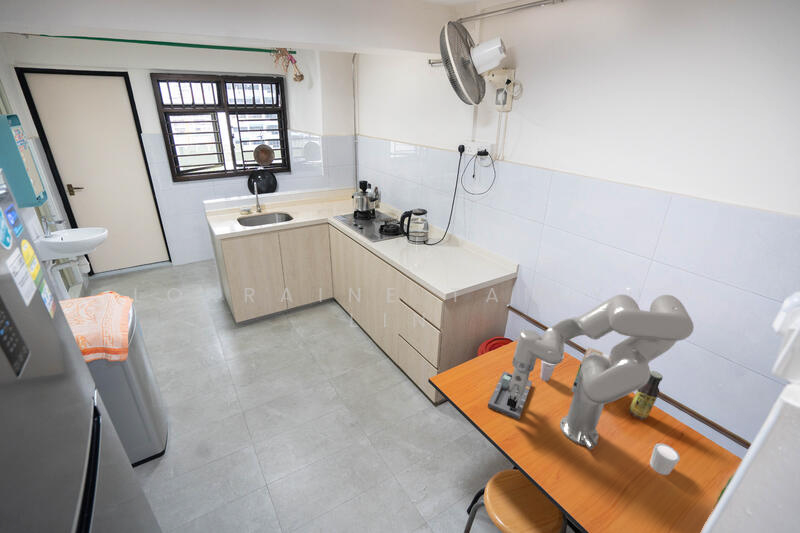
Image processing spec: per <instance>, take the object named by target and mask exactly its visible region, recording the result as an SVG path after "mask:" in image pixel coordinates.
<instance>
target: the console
mask: <svg viewBox="0 0 800 533" xmlns="http://www.w3.org/2000/svg"><path fill="white" fill-rule="evenodd" d="M504 375H507V376H509V377H511V378H510V383H509V386H508V388H506V390H504V389H502V388H503V386H501V385H502V380H503V377H504ZM512 375H513V373H510V372H508V371H503V372H502V373H501V376H500V378H499V380H498V382H497V384H496V386H495V389H494V391H493V393H492V395H491V397H490V399H489V400H488V403H487V408H489V407H490V408H489V409H491V408H492V409H491V410H494V411H496V410H497V411H496V412H498V411H499V413H501V414H503V415H505V414H506V416H508V417H510V418H513V419H516V420H517V419H518V420H517V421H520V418H521V415H522V414H523V410H524V407H525V404H526V402H527V398H528V396H529V393H530V390H531V388H532V387H531V386H532V383H533V381H531V380H529V379H528V382H527V385H526V388H525V391H524V393H523V395H521V397H520V401H519V405H518V408H516V409H515V410H513V409H511V408H512V407H510V406H507V401H508V397H509V396H510V393H511V391H510V384H511V380H512Z"/></svg>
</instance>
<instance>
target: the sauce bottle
mask: <svg viewBox="0 0 800 533" xmlns="http://www.w3.org/2000/svg"><path fill="white" fill-rule="evenodd" d="M662 380H663V375H662V374H661V373H660V372H658V371H655V370H650V378H649V380H648V382H647V383H646V384H645V385H644V386H643V387H641V388H640V389H638V390H636V393H635V396H634V397H633V399H632V401H631V403H630V406H629V410H628V412H629V414H630V415H631V416H633V417H634V418H635V419H638V420H643V421H644V420H646V419H647V417H648V416H649V415H650V413H651V411H652V410H653V407H654V405H655V403H656V401H657V399H658V396H659V394H660V388H659V385H660V383H661V382H662Z"/></svg>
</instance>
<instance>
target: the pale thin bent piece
mask: <svg viewBox="0 0 800 533" xmlns="http://www.w3.org/2000/svg"><path fill="white" fill-rule="evenodd" d="M591 355H601V356H603V357H605V358H607V359H608V360H609V361H610V362H611V356H610V354H607V353H605V352H602V351H600V350H597V349H594V348H591V347H587V349H586V351H585V353H584V355H583V357H582V359H581V361H580V364H579V366H578V370H577V373H576V375H575V378H574V382H573V385H572V388H571V393H573V394H574V393H575V390H576V386H577V383H578V379H579V374H580V369H581V365H582V363H583V361H584V360H585V359H586V358H587V357H589V356H591Z"/></svg>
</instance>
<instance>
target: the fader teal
mask: <svg viewBox="0 0 800 533" xmlns="http://www.w3.org/2000/svg"><path fill="white" fill-rule="evenodd" d="M510 378H511V377H509V376H507V375H504V377H503V380H502V385H501V386H503V388H502V389H504V390H506V388H508V386H509V383H510Z"/></svg>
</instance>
